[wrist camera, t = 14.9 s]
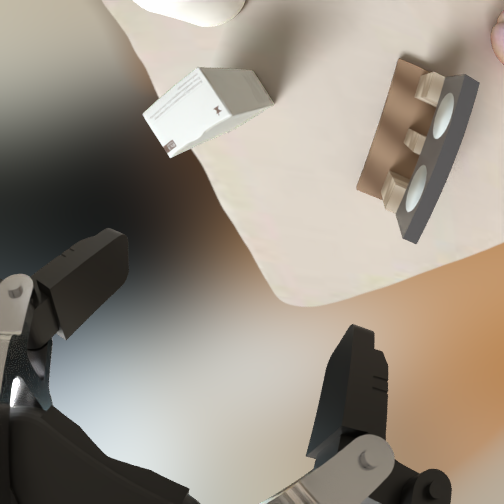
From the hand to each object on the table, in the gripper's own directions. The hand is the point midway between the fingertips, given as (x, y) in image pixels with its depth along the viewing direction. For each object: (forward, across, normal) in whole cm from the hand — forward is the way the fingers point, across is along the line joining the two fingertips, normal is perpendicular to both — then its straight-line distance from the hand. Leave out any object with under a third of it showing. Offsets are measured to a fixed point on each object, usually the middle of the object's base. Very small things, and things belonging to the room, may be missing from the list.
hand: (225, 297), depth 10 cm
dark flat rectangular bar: (+24, -11, -5) cm, 27 cm away
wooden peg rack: (+32, -11, -5) cm, 34 cm away
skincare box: (+32, +12, -2) cm, 35 cm away
